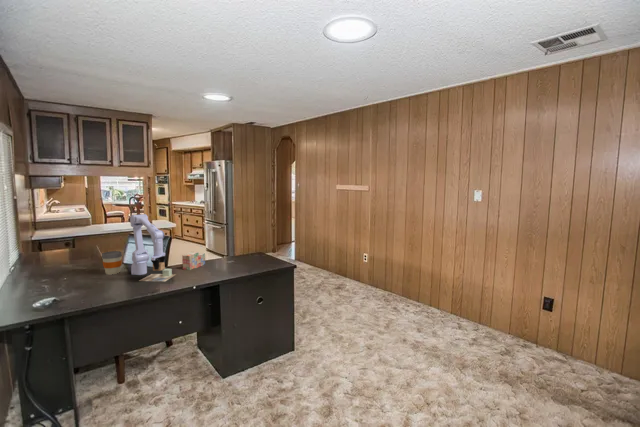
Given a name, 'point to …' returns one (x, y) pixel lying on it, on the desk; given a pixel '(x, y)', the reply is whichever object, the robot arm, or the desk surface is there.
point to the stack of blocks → (193, 260)
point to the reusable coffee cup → (112, 262)
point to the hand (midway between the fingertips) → (159, 268)
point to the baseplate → (157, 277)
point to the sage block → (167, 272)
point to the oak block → (160, 266)
